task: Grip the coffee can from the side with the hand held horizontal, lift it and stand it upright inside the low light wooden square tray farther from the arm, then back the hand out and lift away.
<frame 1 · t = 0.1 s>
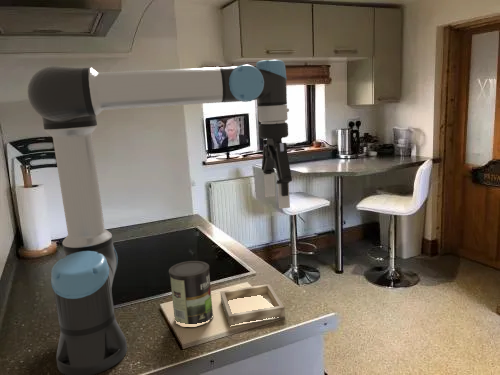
hand: (276, 202, 114), 28 cm above the counter, tool pointing down, fingers open, 13 cm apart
coffee can: (193, 318, 111), on the counter
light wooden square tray: (251, 309, 114), on the counter
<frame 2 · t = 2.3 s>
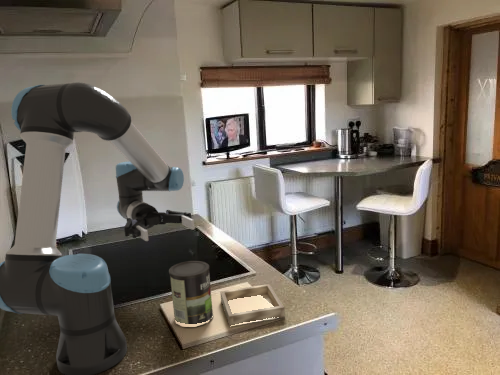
hand: (170, 230, 115), 22 cm above the counter, tool horizontal, fingers open, 13 cm apart
nothing on the counter moved.
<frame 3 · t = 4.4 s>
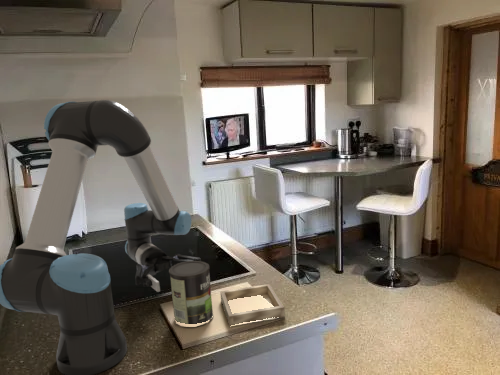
hand: (181, 279, 116), 8 cm above the counter, tool horizontal, fingers open, 13 cm apart
nothing on the counter moved.
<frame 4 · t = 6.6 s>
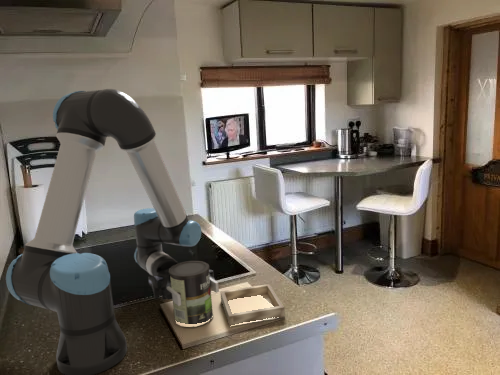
hand: (198, 293, 106), 8 cm above the counter, tool horizontal, fingers closed on coffee can, 10 cm apart
coffee can: (193, 318, 111), on the counter, touching gripper
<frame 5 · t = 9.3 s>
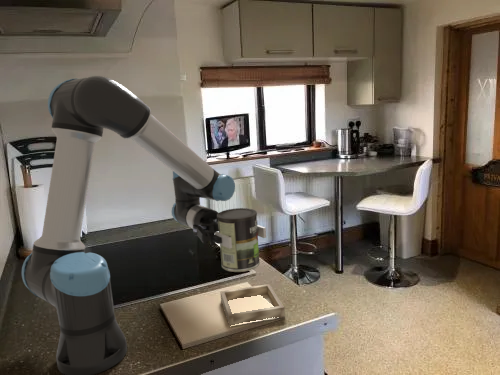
hand: (248, 237, 107), 21 cm above the counter, tool horizontal, fingers closed on coffee can, 10 cm apart
coffee can: (240, 265, 112), point 13 cm above the counter, touching gripper
when the fingers open (10 cm above the counter, at t = 12.1 s): coffee can drops 1 cm, resting on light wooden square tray.
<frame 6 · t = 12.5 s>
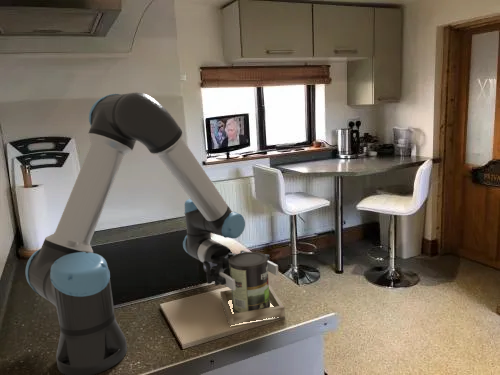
hand: (256, 277, 109), 10 cm above the counter, tool horizontal, fingers open, 13 cm apart
coffee can: (251, 308, 114), resting on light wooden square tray
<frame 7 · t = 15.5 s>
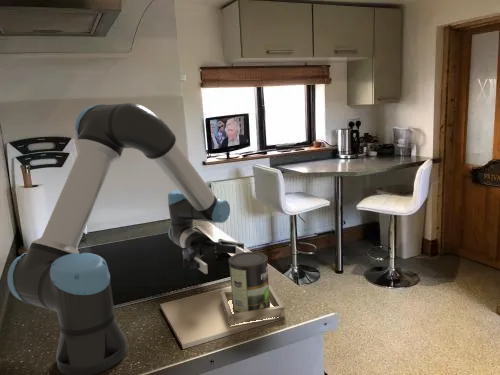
hand: (227, 263, 119), 11 cm above the counter, tool horizontal, fingers open, 13 cm apart
nothing on the counter moved.
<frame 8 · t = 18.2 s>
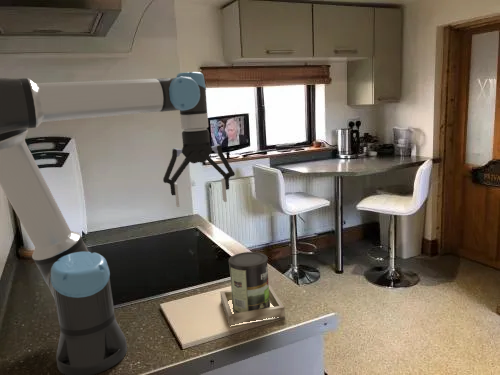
hand: (201, 203, 122), 27 cm above the counter, tool pointing down, fingers open, 13 cm apart
nothing on the counter moved.
at the end: coffee can 0.1 cm off-centre on the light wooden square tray, point 0.2 cm above the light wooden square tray's base; coffee can tilted 0°; the gripper is holding nothing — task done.
